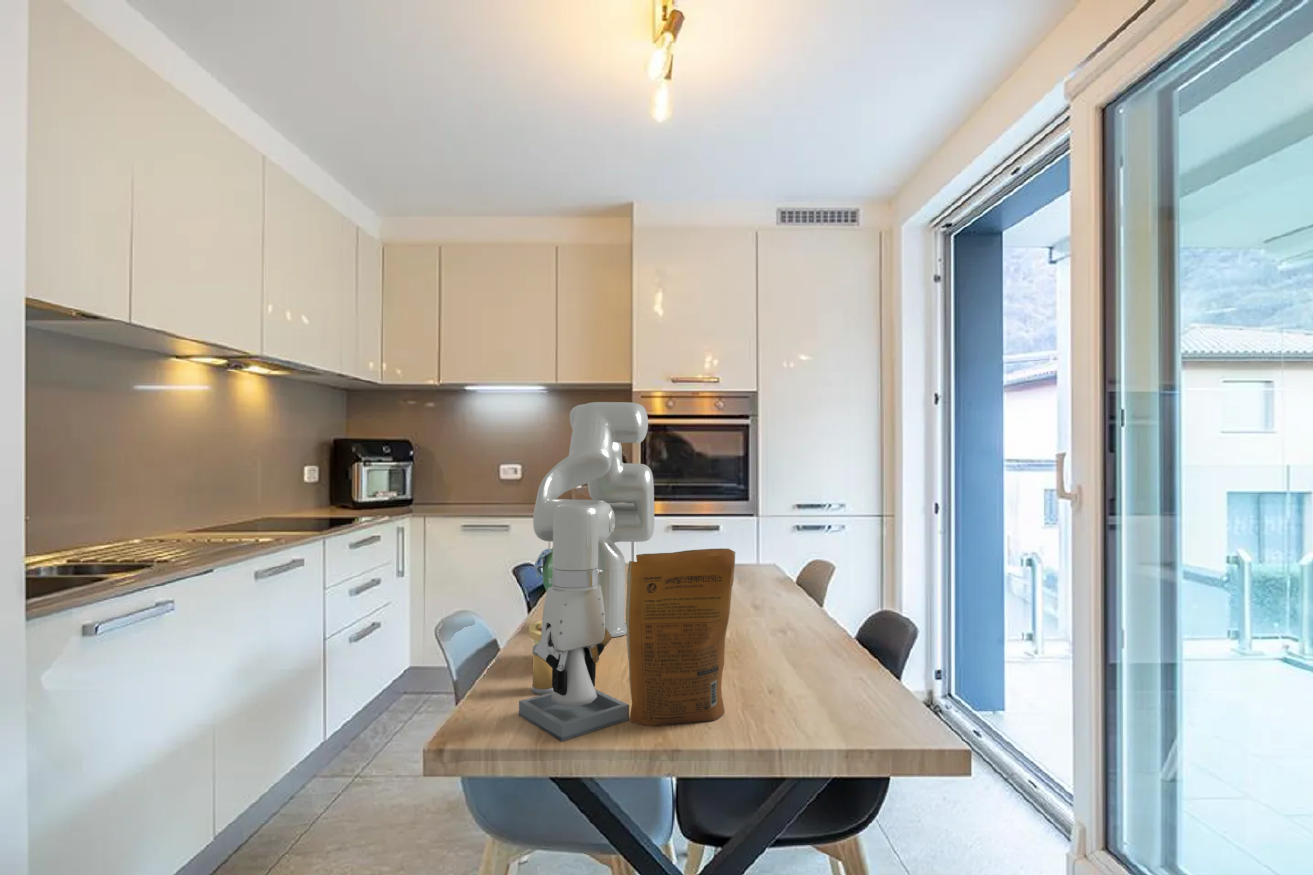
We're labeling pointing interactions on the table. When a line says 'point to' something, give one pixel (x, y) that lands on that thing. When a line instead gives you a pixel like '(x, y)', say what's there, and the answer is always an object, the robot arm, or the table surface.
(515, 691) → the table surface
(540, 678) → the fuse
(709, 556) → the pancake mix bag
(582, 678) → the flask
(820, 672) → the table surface
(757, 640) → the table surface
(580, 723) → the tray
